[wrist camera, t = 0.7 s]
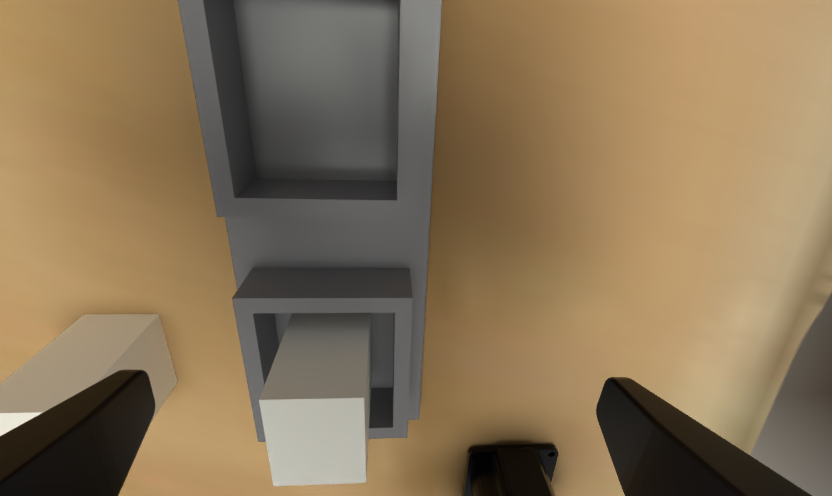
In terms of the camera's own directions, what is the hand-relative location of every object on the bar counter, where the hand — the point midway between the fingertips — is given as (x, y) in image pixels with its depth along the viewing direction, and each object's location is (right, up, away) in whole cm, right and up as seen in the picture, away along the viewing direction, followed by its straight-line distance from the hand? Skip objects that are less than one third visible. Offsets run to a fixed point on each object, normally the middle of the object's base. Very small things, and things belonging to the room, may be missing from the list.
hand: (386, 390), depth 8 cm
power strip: (-4, +4, +13) cm, 14 cm away
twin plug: (-4, -2, +15) cm, 16 cm away
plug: (-16, -3, +16) cm, 23 cm away
